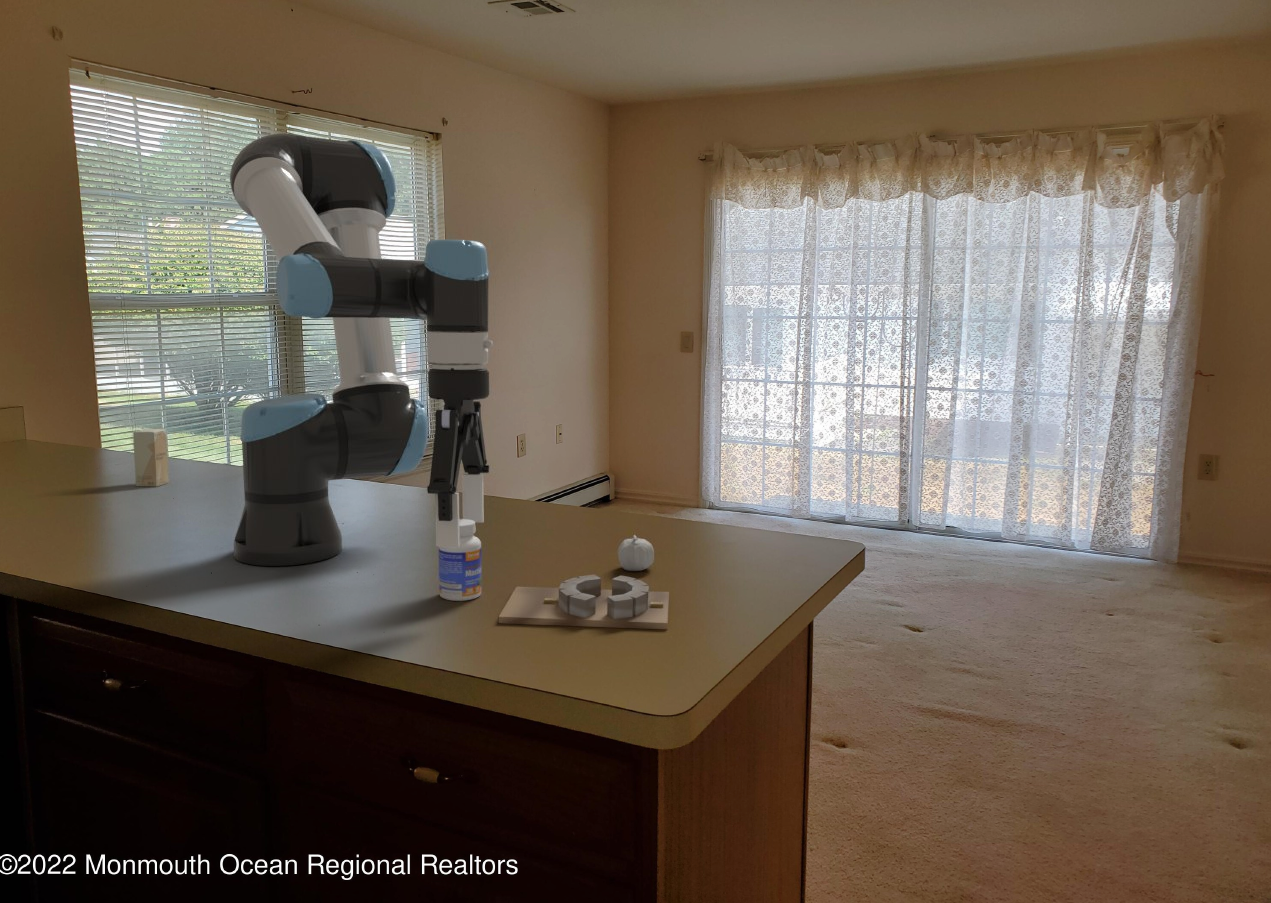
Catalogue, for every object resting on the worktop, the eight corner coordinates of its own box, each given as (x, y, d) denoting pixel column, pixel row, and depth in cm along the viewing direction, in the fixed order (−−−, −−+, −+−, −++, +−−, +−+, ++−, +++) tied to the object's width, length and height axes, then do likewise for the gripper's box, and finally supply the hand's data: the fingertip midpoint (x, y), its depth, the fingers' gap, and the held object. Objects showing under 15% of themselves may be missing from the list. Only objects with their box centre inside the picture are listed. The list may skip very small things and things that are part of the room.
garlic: (640, 577, 129) (641, 541, 129) (608, 570, 132) (609, 535, 131) (662, 567, 134) (663, 532, 134) (631, 561, 137) (631, 527, 136)
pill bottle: (472, 603, 116) (471, 528, 115) (432, 599, 117) (431, 525, 116) (487, 590, 122) (487, 518, 120) (449, 587, 123) (448, 516, 121)
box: (156, 487, 184) (153, 432, 182) (134, 486, 184) (131, 431, 182) (170, 482, 189) (166, 428, 187) (149, 481, 189) (145, 428, 187)
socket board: (498, 622, 109) (498, 598, 109) (516, 592, 121) (516, 570, 121) (667, 629, 108) (667, 604, 108) (668, 597, 120) (669, 575, 120)
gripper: (464, 372, 102) (467, 558, 105) (507, 363, 127) (508, 513, 130) (398, 371, 103) (403, 557, 106) (453, 362, 127) (456, 512, 130)
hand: (461, 533), depth 118 cm, fingers open, 13 cm apart
